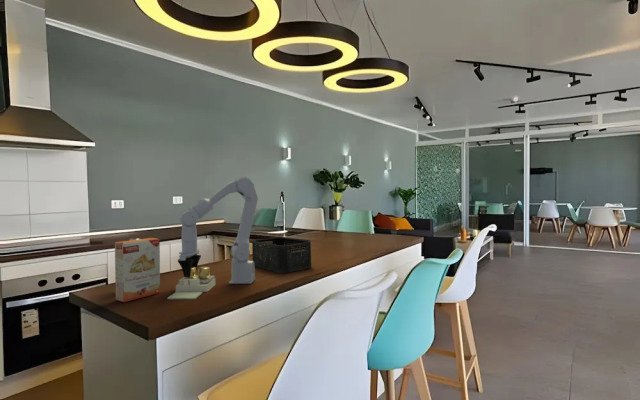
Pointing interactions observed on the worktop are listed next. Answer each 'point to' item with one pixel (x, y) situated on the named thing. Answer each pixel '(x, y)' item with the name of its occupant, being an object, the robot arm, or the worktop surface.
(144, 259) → the cracker box
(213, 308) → the worktop surface
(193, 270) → the cylinder
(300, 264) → the storage bin
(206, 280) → the scale pan
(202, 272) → the brass weight
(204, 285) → the scale
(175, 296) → the rubber mat
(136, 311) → the worktop surface
